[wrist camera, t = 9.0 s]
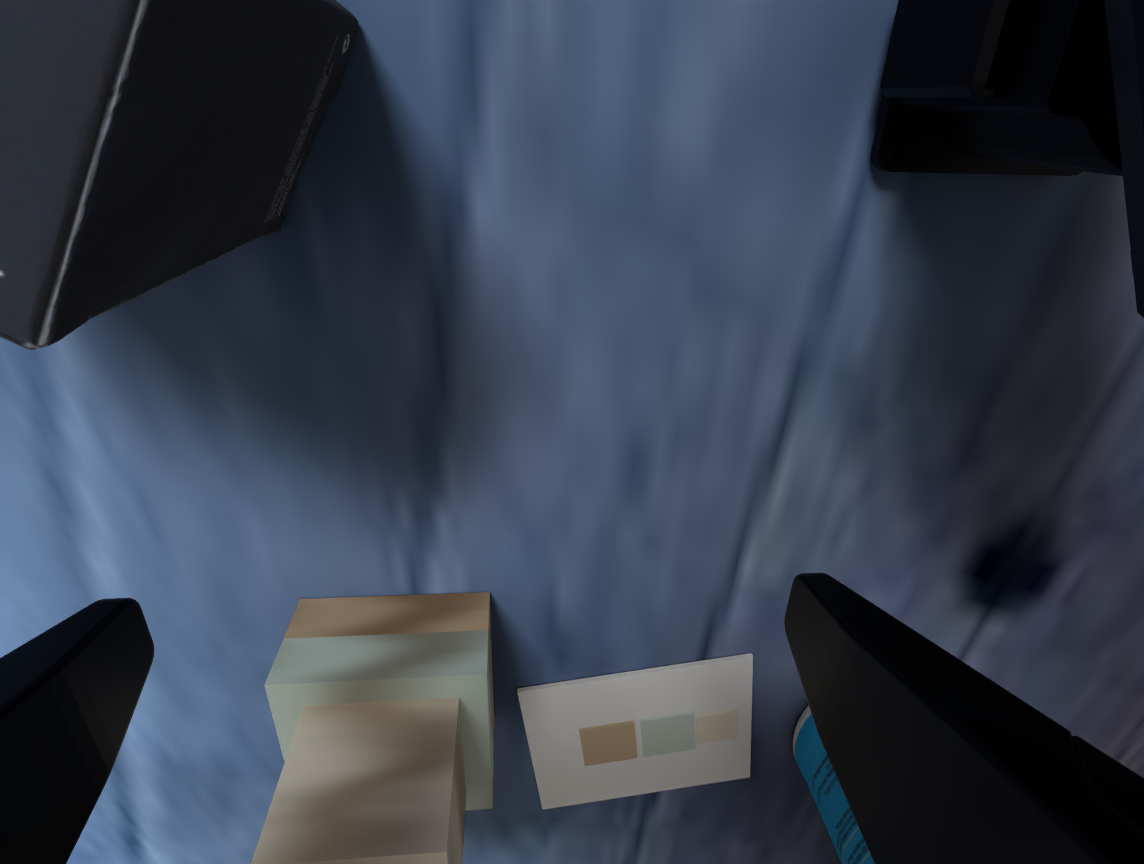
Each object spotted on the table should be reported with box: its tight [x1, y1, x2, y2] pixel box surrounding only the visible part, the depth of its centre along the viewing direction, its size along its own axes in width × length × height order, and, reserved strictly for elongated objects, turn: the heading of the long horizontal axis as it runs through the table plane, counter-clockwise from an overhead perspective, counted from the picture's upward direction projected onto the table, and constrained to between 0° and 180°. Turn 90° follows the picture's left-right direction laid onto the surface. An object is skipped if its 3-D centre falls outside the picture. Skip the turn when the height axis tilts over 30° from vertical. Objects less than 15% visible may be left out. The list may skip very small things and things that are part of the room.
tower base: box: [265, 592, 494, 811], centre depth 24 cm, size 7×7×4 cm
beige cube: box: [251, 698, 466, 864], centre depth 20 cm, size 5×5×5 cm
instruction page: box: [517, 653, 753, 810], centre depth 29 cm, size 10×8×1 cm
